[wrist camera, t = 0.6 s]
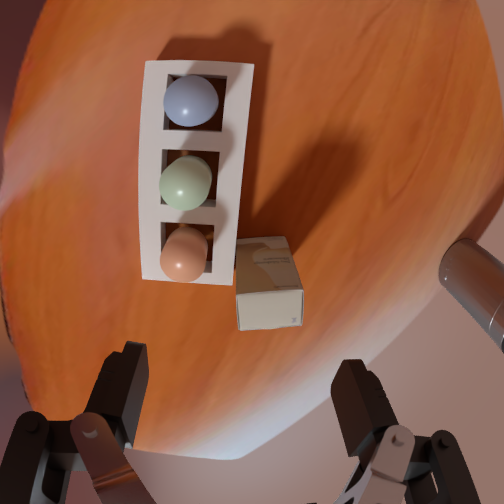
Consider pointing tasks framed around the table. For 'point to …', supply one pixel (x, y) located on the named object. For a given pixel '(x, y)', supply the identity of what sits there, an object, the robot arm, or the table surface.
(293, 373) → the table surface
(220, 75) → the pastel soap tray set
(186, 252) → the terracotta button
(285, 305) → the skincare box
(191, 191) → the green button
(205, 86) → the blue button
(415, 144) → the table surface
